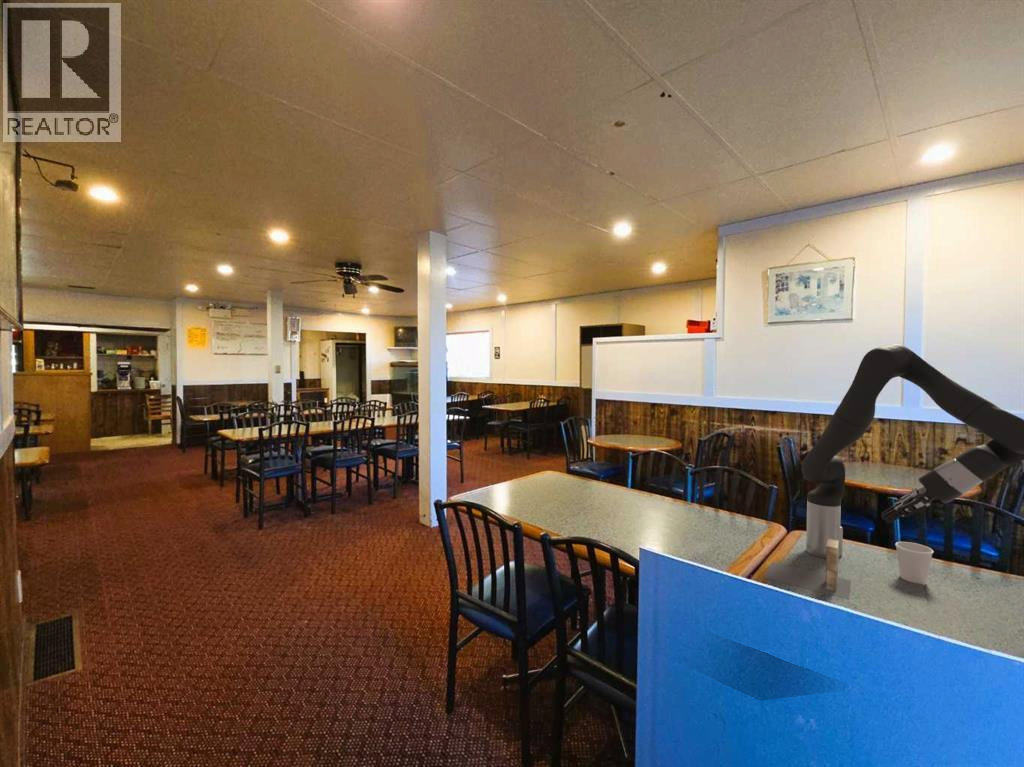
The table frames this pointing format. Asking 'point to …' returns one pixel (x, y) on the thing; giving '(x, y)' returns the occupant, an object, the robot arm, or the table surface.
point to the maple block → (832, 564)
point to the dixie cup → (914, 561)
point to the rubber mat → (806, 579)
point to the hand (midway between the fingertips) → (884, 518)
